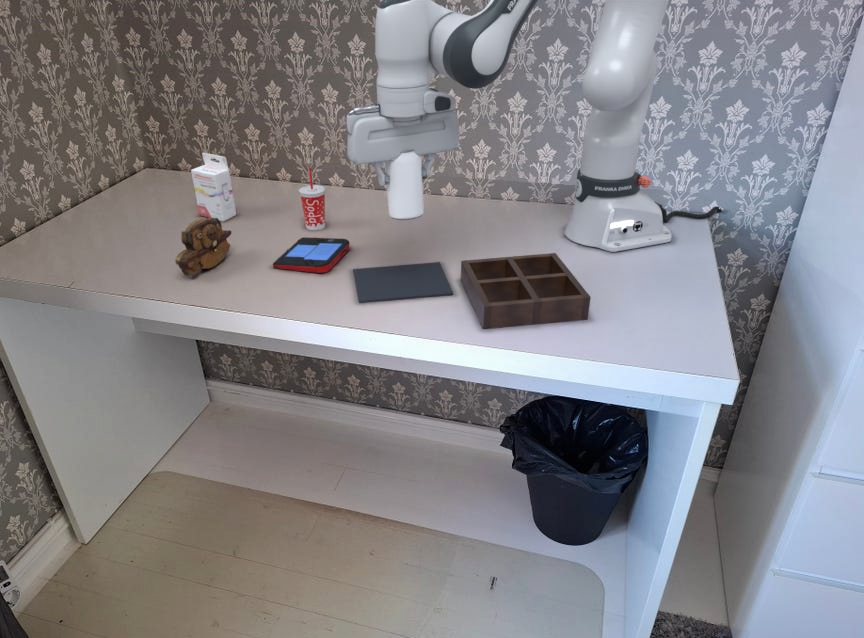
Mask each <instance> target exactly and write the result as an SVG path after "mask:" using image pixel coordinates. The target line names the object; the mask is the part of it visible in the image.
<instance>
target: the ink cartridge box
mask: <svg viewBox="0 0 864 638" xmlns="http://www.w3.org/2000/svg"><path fill="white" fill-rule="evenodd" d="M201 154H202V155H201V156H202V160H203V163H204V164H203V165H200V166H197V167H195V168H192V169H190V172H191V177H192V183H193V189H194V193H195V199H196V205H197V209H198V210H197V211H198V215H199V216H201V217H205V218H207V219H208V218H209V217H212V218H218V219H219V221H220V222H225V221H227V220H230V219H231V218H234V217H235V216H237V210H236V203H235V200H234V193H233V187H232V186H233V185H232V180H231V179H232V178H231V174H230V169H229V166H228V160H227V158H226V156H224V155H223V156H222V155H218V154H212V153H206V152H202V153H201ZM214 159H215V160H216V161H214Z"/></svg>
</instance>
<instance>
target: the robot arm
mask: <svg viewBox="0 0 864 638" xmlns="http://www.w3.org/2000/svg"><path fill="white" fill-rule="evenodd" d="M538 1H539V0H489V2H488V4H487V5H486V6H485V7H484V8H483V9H482V10H481V11H479V12H477V13H475V14H473V15H468V14H465V13H462V12H457V11H455V10H451V9H449V8H447V7H445V6H442V5H440V4H438V3H436V2H434V1H433V0H381V2H380V3H379V5H378V7H377V10H376V15H375V27H374V30H375V31H374V49H375V50H374V54H375V55H374V56H375V60H376V63H377V75H376V81H375V84H376V104H370V105H365V106H355V107H353V108H352V110H350V111H349V112H348V113H347V115H346V116H345V129H346V132H347V138H346V139H347V140H346V155H347V157H348V159H349V160H350V161H351V163H353V164H355V165H356V166H362V165H369V164H371V166H372V168H373V170H374V171H375V172H376V174H377V177H378V184H379V186H381V187H384V186H387V185H389V184H390V182H389V179H390V178H389V175H388V174H386V172H384V171H383V170H382V168H384V162H385V161H388V160H394V159H397V158H398V157H399V156H400V155H401V153H400V152H406V151H412V150H415V151H414V153H415V154H417V155H418V156H420V157H421V156H423V158H425V159H424V161H423V163H422V165H421V170H422V180H426V179H429V178H430V169H431V168H432V166H433V164H434V163H435V161H436V154H441V153H446V152H452V151H455V150H456V149H457V147H458V146H459V144H460V124H459V123H460V122H459V117H458V114H457V113H456V111H454V110H455V109H456V106H457V99H456V98H455V96H454V95H450V94H449V93H448V92H444V91H441V90H438V89H435V88H432V87H430V77H431V76H432V75H433V74H440V75H441V76H443V77H446V78H449V79H452V80H453V81H455V82H456V83H458V84H460V85H461V86H463V87H465V88H468V89H482V88H485V87H487V86H489V85H491V84H492V83H493V82H495V81H496V80H497V79H498V78H499V77H500V76H501V74H502V73H503V71H504V70H505V68H506V66H507V64H508V62H509V59H510V56H511V52H512V50H513V47H514V44H515V41H516V39H517V37H518V34H519V33H520V31H521V29H522V28H523V26H524V24H525V22H526V21H527V20H528V18H529V16H530V15H531V13H532V11H533V9H534V8H535V6H536V4H537V3H538ZM669 2H670V1H669V0H605V2H604V5H603V9H602V13H601V16H600V20H599V23H598V26H597V29H596V32H595V36H594V39H593V42H592V46H591V50H590V54H589V58H588V62H587V65H586V68H585V71H584V74H583V77H582V82H581V91H582V95H583V98H584V99H585V101H586V102H587V104H588V105H589V106H591V109H590V114H589V117H588V121H587V124H586V127H585V130H584V134H583V142H582V149H581V158H580V165H579V169H577V173H576V174H577V175H576V179H575V183H574V202H573V206H572V210H571V214H570V217H569V220H568V222H567V224H566V227H565V229H564V235H565V237H566V238H567V239H569V240H570V241H572V242H573V243H576V244H578V245H582V246H585V247H590V248H596V249H597V248H598V249H600V250H604V251H606V252H610V253H617V252H623V251H628V250H633V249H639V248H645V247H650V246H655V245H656V246H657V245H661V244H666V243H670V242H672V236H673V235H672V232H671V230H670V229H669V228H668V227H667V226H666V225H665V224H664V223H668V222H669V221H670V220H671V218H672V217H673V216H682V217H686V218H692V219H705V218H708V217H711V216H712V215H713V214H714V213H716V212H717V213H723V210H722V208H721V207H720V206H718V207H717V206H714V207H712V208H711V209H710V210H708V211H707V212H705V213H693V212H688V211H683V210H674V211H670V212H669V213H667V209H666V208H664V207H663V204H660V203H659V202H656V201H655V200H653V199H652V198H651V197H650V196H649V195H648V194H646V193H645V192H644V191H643V190H642V189H641V187H642V188H643V189H645V188H646V189H647V188H649V187H650V186H651V184H652V180H651V179H650V178H648V177H647V176H646V175H642V174H640V173H639V172H637V171H636V167H637V159H638V154H639V148H640V144H641V143H640V142H641V138H642V133H643V128H644V125H645V122H646V117H647V113H648V109H649V105H650V101H651V97H652V94H653V88H654V83H655V80H656V74H657V69H658V57H657V53H656V52H655V49H654V48H655V44H656V42H657V38H658V36H659V33H660V29H661V27H662V23H663V21H664V18H665V15H666V14H667V10H668V5H669ZM719 208H720V209H719ZM663 222H664V223H663Z"/></svg>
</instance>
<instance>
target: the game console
mask: <svg viewBox="0 0 864 638" xmlns="http://www.w3.org/2000/svg"><path fill="white" fill-rule="evenodd" d="M350 245H351V244H350V241H349V240H348V239H347V238H335V237H334V238H332V237H330V238H329V237H308V236H307V237H306V236H305V237H301V238H299V239H298V240H297V241H296V242H295V243H294V244H292V245H291V246H290V247H289V248H287V249H286V251H284V253H283V254H282V255H280V256H279V257H278V258H277V259H276V260H275V261H273V262H272V267H273V268H275V269H279V270H287V271H289V270H291V271H296V272H304V273H313V274H325V273H328V272H330V271H331V269H332V268H334V267H335V266H336V265H337V263H338V262H339V261H340V260H341V258H343V257H344V256H345V254H346V253H347V252H348V251H350Z"/></svg>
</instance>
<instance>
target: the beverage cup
mask: <svg viewBox="0 0 864 638" xmlns="http://www.w3.org/2000/svg"><path fill="white" fill-rule="evenodd" d="M308 172H309V173H308V175H309V184H310V185H305V186H302V187H300V188H299V189H298V195H299V196H300V201H301V206H302V212H303V217H304V218H303V219H304V224H305V228H306V230H308V231H309V230H310V231H320V230H322V229H325V227H326V199H325V195H326V188H325V186H322V185H320V184H319V185H318V184H314V183H313V175H312V167H308Z"/></svg>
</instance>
